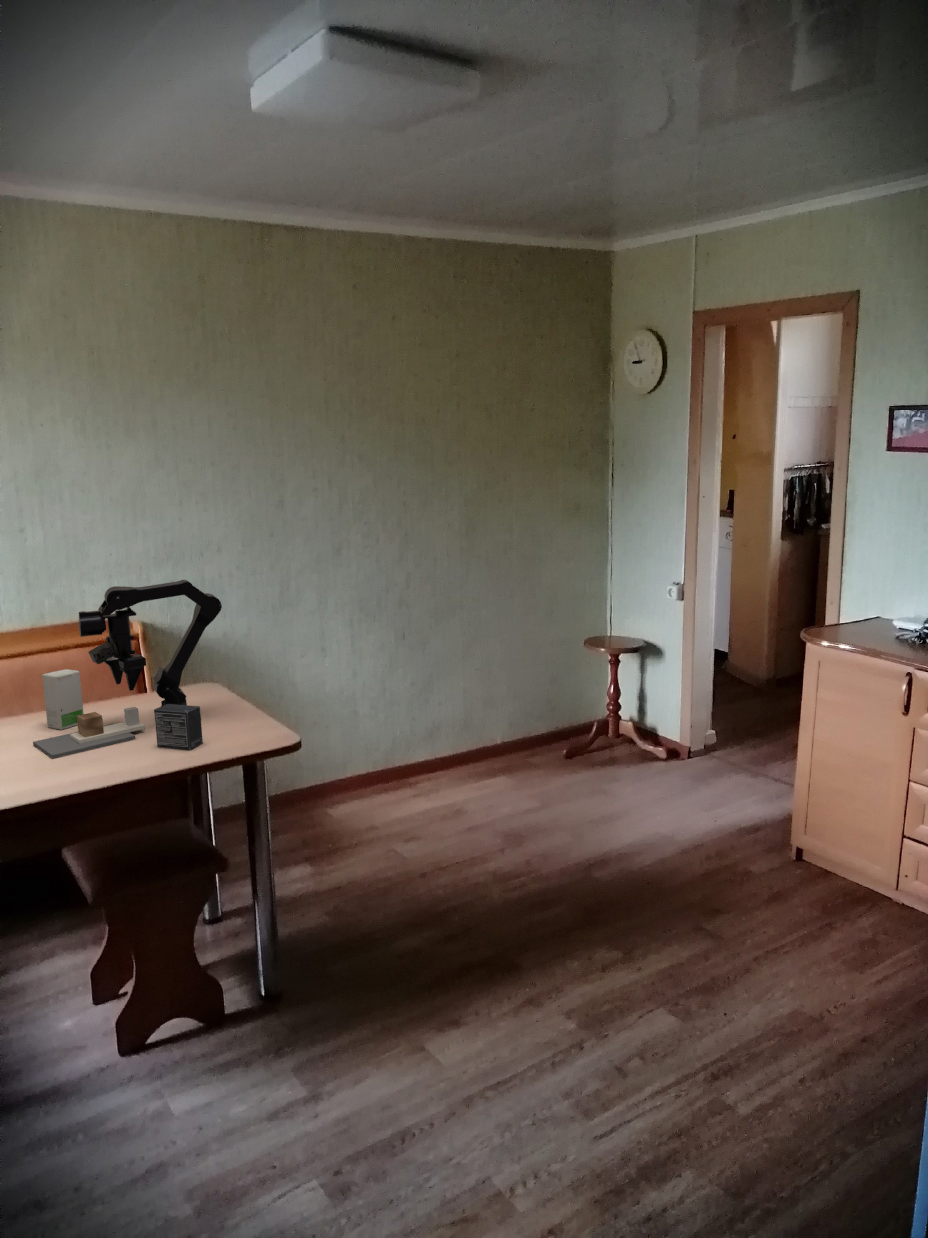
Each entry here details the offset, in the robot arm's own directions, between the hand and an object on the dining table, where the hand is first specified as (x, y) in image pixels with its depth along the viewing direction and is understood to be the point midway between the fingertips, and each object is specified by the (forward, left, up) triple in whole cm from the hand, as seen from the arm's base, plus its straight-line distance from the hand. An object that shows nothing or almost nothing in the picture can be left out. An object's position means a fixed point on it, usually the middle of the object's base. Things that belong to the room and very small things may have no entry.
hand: (124, 687), depth 269 cm
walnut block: (+4, +11, -10) cm, 16 cm away
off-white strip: (+1, +8, -11) cm, 14 cm away
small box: (-22, +11, -12) cm, 27 cm away
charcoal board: (+5, +13, -12) cm, 18 cm away
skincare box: (+20, 0, -12) cm, 23 cm away
